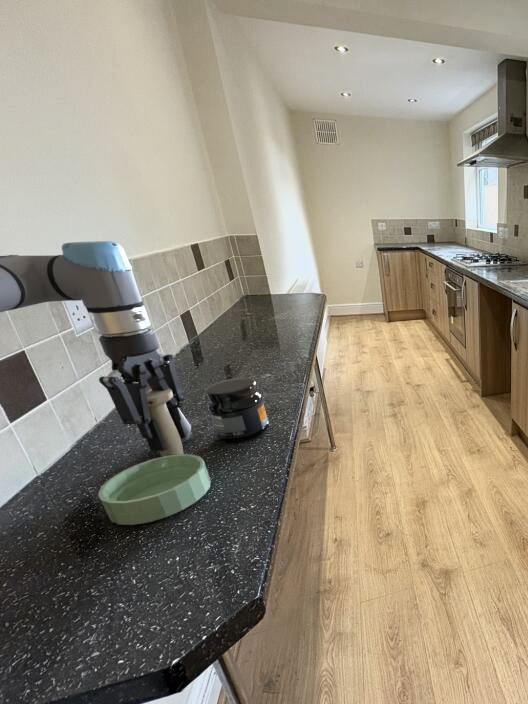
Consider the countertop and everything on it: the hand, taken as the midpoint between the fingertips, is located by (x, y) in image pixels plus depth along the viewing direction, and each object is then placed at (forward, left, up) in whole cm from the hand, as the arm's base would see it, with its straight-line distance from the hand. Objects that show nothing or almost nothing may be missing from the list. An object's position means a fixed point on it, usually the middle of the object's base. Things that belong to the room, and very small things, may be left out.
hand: (168, 443), depth 83 cm
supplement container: (+7, +12, -4) cm, 14 cm away
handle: (0, 0, -4) cm, 4 cm away
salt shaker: (-6, +8, -4) cm, 11 cm away
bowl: (+8, -12, -4) cm, 15 cm away
